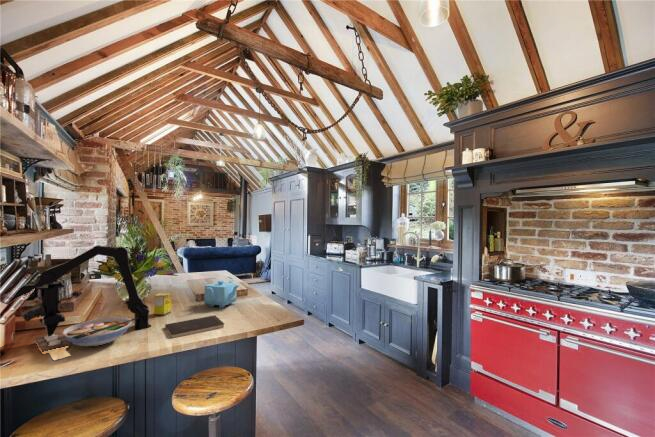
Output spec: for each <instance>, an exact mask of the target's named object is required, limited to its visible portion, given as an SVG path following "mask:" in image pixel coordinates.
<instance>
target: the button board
mask: <svg viewBox="0 0 655 437" xmlns="http://www.w3.org/2000/svg"><path fill="white" fill-rule="evenodd" d="M53 334H54V335H58V340H61V344H56V345H52V346H48V345H49V342H48V343H46V342H47V339H45V340H44V337H45V336H47V335H48V334H47V335H46V334H45V335H41V336H38V337H37V336H36V337H34V341H35V340H36V342H37V343H38V345H39V347H40V348H41V350H42V352H44V351H48V350H52V349H56V348H61V347H65V346H69V345H70V346H71V342H70V341H69V340H68V339H67V338H66V337H65V336H64V335H63V332H55V333H53Z"/></svg>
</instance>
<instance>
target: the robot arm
mask: <svg viewBox="0 0 655 437" xmlns="http://www.w3.org/2000/svg"><path fill="white" fill-rule="evenodd" d="M96 256H105V257H111V258H113V260H114V261H115V262H116V264H117V265H118V267H119V270H120V273H121V276H122V278H123V282H124V285H125V289H126V292H127V294H128V297H127V298H125V304H126V305H127V310H128V311H130V312H131V314H134V319H135V318H138V319H135V320H133V321H134V324H133V325H131V328H132V329H133V330H135V331H138V330H142V329H146V328H150V327H152V325H151V324H150V323H149V318H150V317H149V316H150V315H149V313H150V308H149V306H148V305H146V303H144V300H143V298H142V297H141V295H140V293H139V292H138V290H137V287H136V283H135V280H134V277H133V274H132V270H131V266H130V264H129V252H128V249H127V247H125V246H117V247H113V246H112V247H111V246H103V245H94V246H93V247H92V248H90V249H89V250H86V251H85V252H83V253H81V254H79V255H77V256H75V257H73V258H72V259H70V260H68V261H65V262H63V263H61V264H58V265H55V266H53V267H50V268H47V269H46V270H44V271H43V272H41V273H40V275H39V280H38V281H36V282H35V283H33V284H23V285H24V286H23V287H22V288H21V289H20V290H19V291H18V292H17V294H16V295H15V294H14V295H15V298H17V297H19V296H21V295H23V294H26V293H28V292H30V291H31V290H32V289H34V288H35V290H34V292H33V293H32V294H31V295H30V297H29V298H28V299H27V300H26V301H25V302H32V301H33V302H34V301H36V300H37V299H38V298H40V301H39V303H38V306H35V307H32V308H29V309H27V310H25V311H22V312H21V313H20V315H21V317H22V319H23V320H24V322H25V323H26V322H30V321H31V320H34V319H35V318H39V317H41V318H39V319H38V321H39V322H40V323H41V324H42V325H44V327H45V330H46V334H47V335H48V336H52V335H53V334H55V333H54V332H55V331H56V329H57V327H58V326H59V324H60V323H64V322H65V321H66V316H64V314H62V313H61V309H60V304H61V301H62V300H61V299H60V297H61V296H60V291H61V290H60V288H65V287H66V286H67V284H65V283H64V282H63V281H61V280H60V281H59V282H57V281H58V280H59V279H61V278H62V277H63V276H65V275H66V274H67V273H68V272H70V271H71V270H73V269H75V268H77V267H79V266H80V265H82V264H83V263H85V262H87V261H89V260H91V259H93V258H94V257H95V258H96ZM55 282H57V283H55ZM44 285H47V286H44Z"/></svg>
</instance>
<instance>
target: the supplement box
mask: <svg viewBox="0 0 655 437" xmlns="http://www.w3.org/2000/svg"><path fill="white" fill-rule="evenodd" d="M171 311H172V293H171V292H159V293H157V294H154V296H153V315H154V316H159V315H160V316H162V317H163V316H166V315H168V314H169V315H170V313H171ZM160 316H159V317H160Z"/></svg>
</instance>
